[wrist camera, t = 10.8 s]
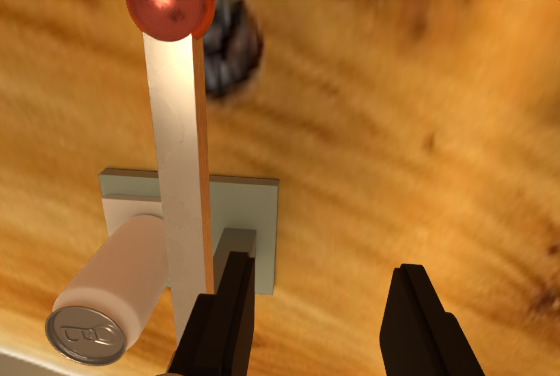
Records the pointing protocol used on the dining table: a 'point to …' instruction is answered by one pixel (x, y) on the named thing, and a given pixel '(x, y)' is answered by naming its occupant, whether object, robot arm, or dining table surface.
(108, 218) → the press
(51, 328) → the can
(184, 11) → the lever
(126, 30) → the dining table surface
